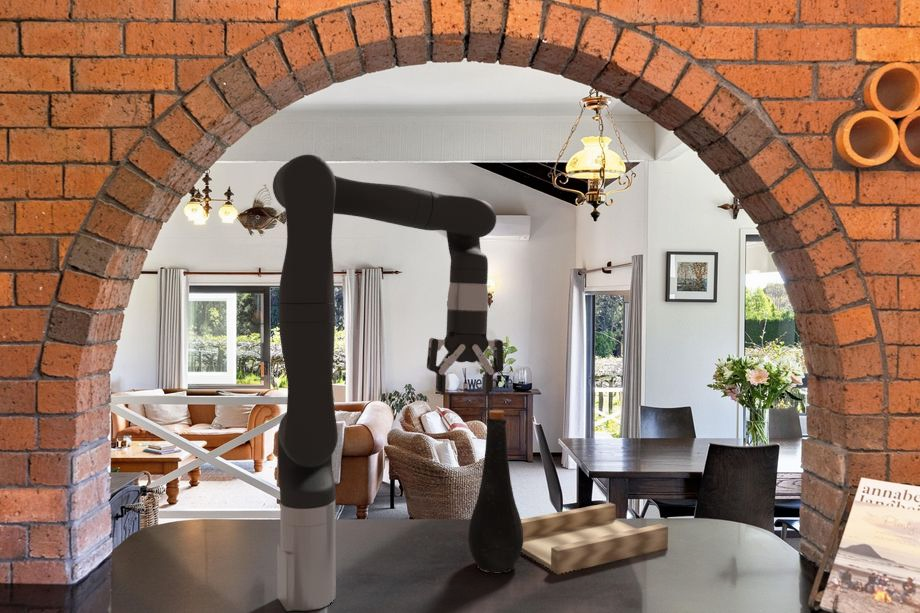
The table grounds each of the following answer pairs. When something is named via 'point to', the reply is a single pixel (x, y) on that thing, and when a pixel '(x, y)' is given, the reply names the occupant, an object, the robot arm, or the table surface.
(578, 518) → the trough
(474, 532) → the bottle
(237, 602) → the table surface
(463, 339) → the robot arm
